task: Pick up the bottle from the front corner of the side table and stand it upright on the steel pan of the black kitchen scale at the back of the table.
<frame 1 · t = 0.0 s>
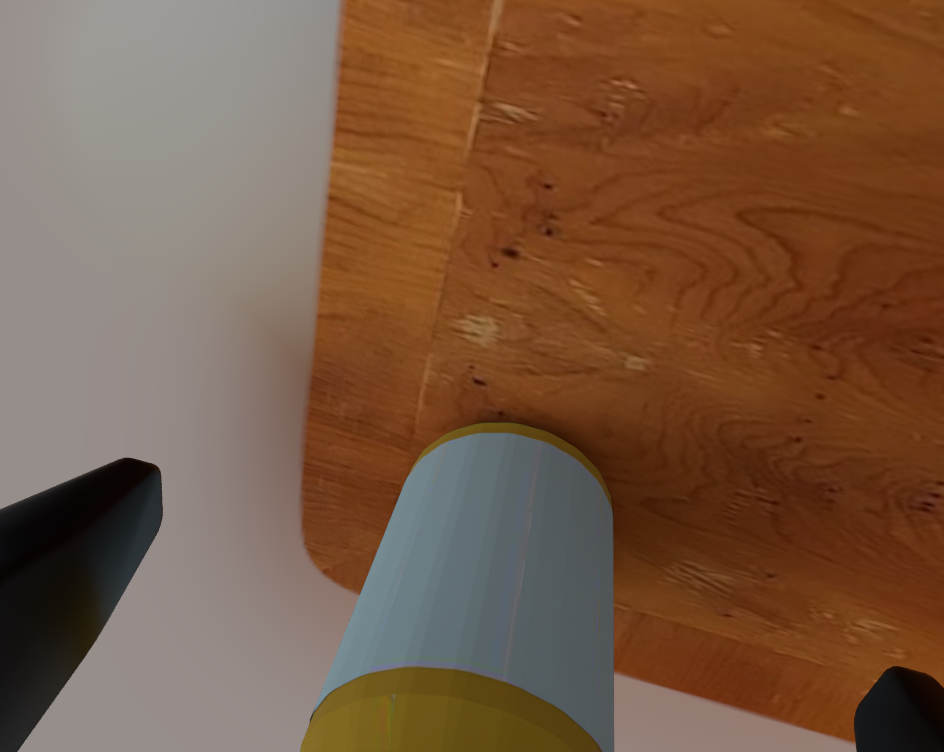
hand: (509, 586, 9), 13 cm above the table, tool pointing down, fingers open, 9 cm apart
bottle: (509, 493, 25), on the table
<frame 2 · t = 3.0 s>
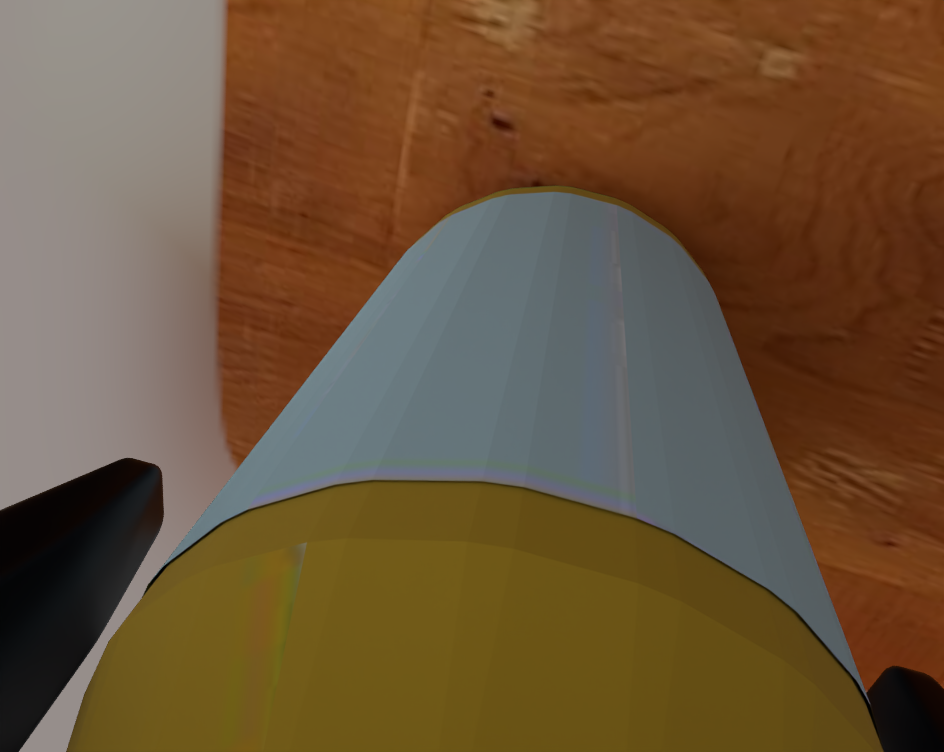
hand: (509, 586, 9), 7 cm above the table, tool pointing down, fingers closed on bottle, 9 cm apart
bottle: (547, 339, 15), on the table, touching gripper
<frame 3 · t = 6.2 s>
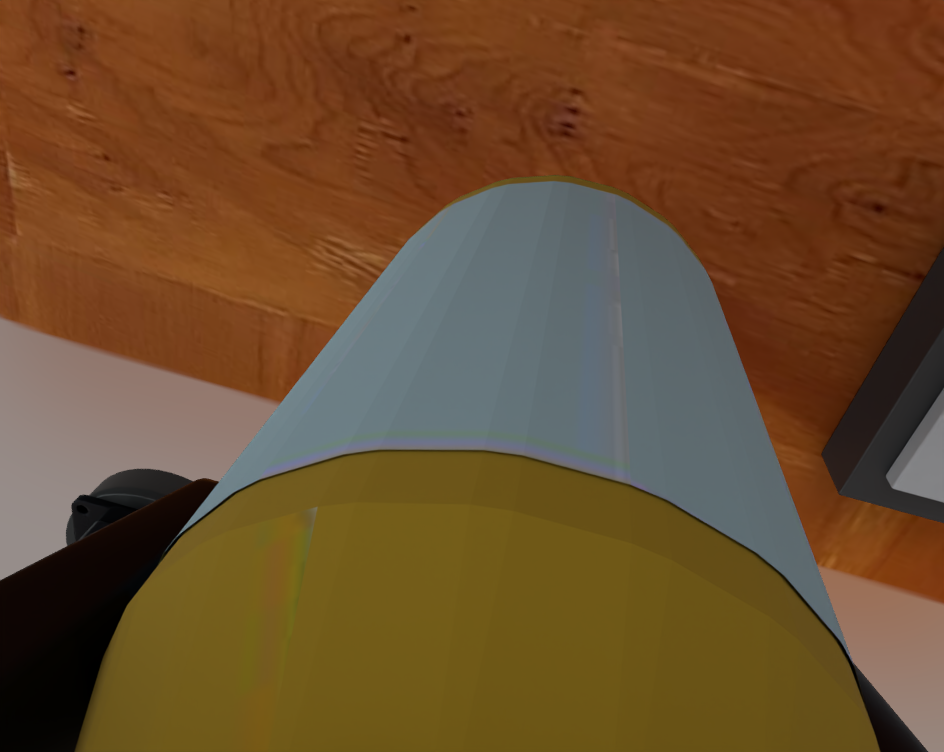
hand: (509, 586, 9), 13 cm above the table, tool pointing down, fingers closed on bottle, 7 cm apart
bottle: (546, 327, 16), point 5 cm above the table, touching gripper
when the fingers open (10 cm above the table, at t = 9.1 s): bottle stays where it is, resting on scale.
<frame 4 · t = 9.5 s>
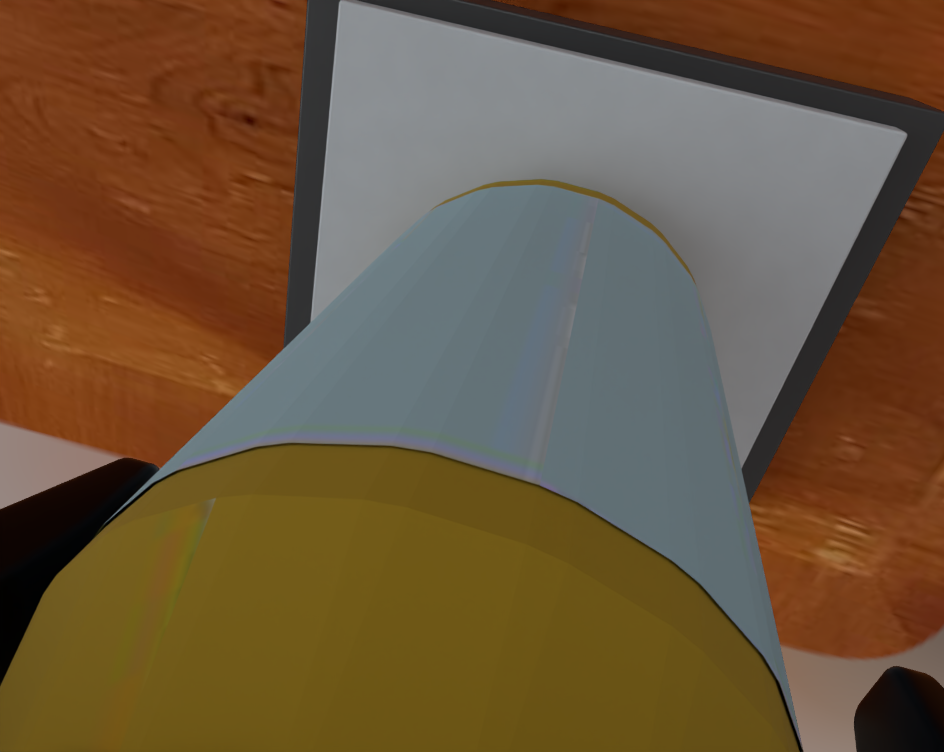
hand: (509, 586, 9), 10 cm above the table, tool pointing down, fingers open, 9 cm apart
scale: (555, 274, 17), on the table
bottle: (536, 333, 15), point 3 cm above the table, touching gripper, scale
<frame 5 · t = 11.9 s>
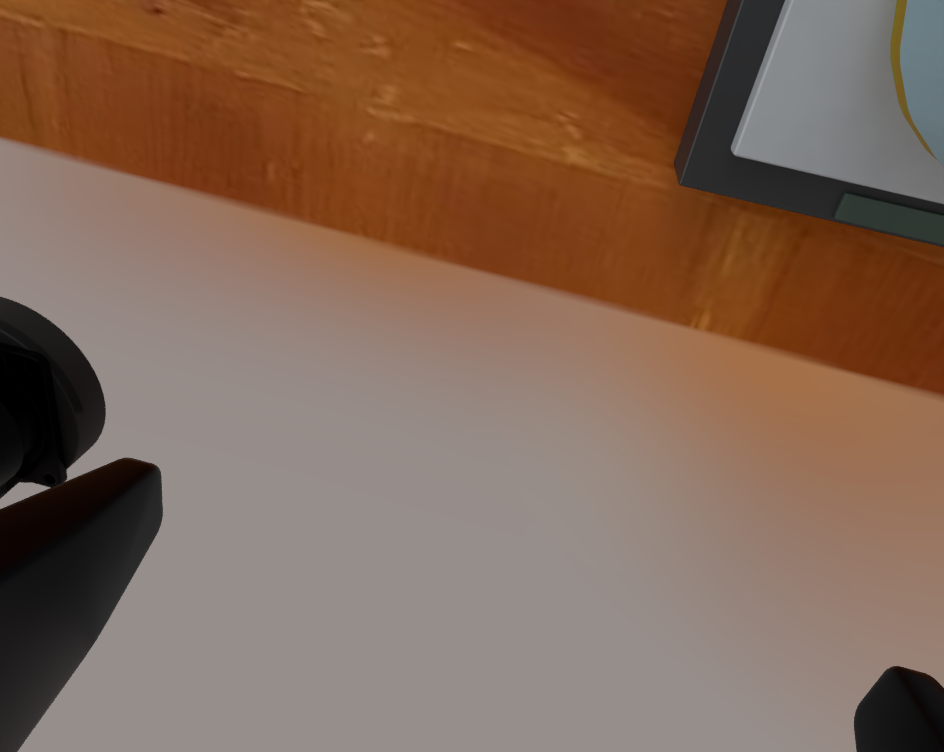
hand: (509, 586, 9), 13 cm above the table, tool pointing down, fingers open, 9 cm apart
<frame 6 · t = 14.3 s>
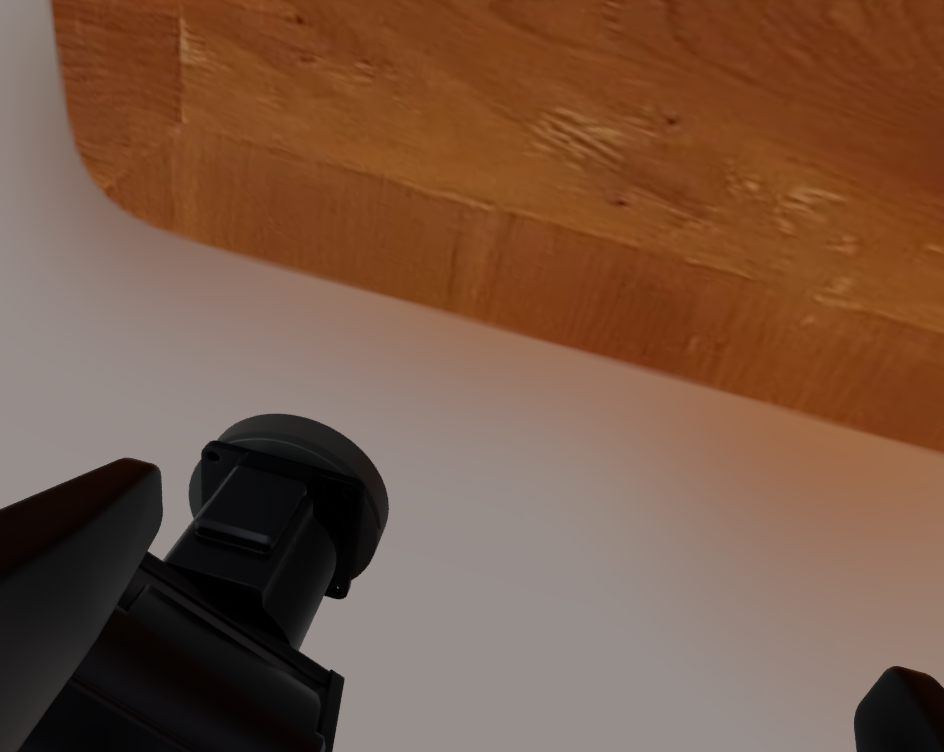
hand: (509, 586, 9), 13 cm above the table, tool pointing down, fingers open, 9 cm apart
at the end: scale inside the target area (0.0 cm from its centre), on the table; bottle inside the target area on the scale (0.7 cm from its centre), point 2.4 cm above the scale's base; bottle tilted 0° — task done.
